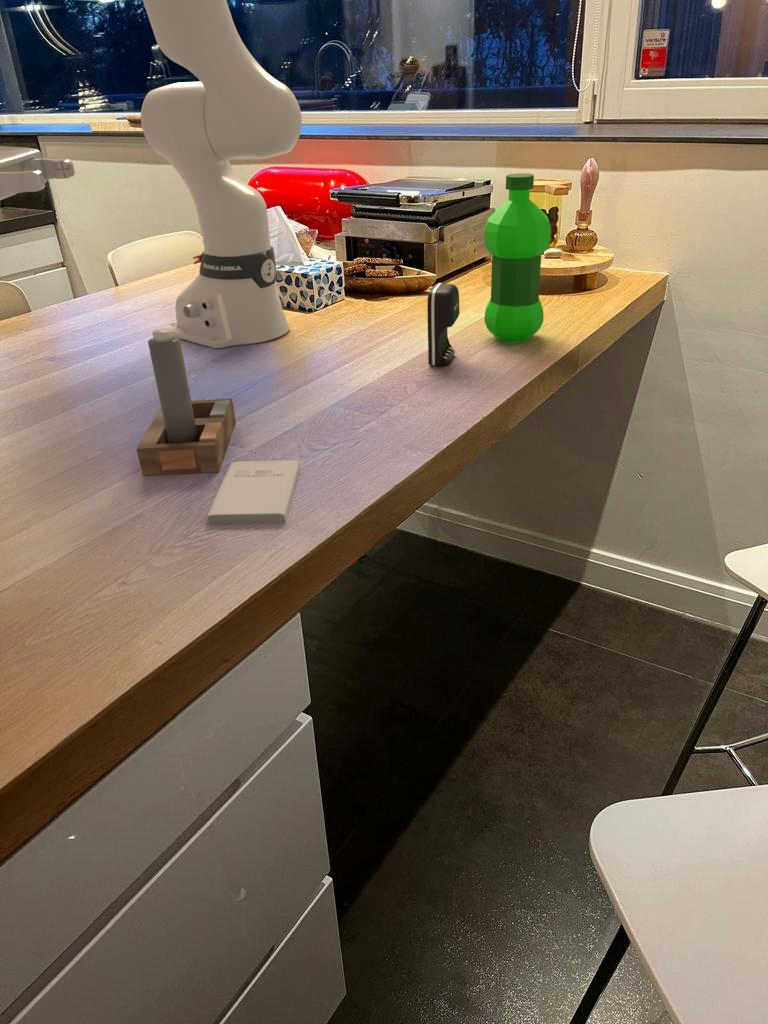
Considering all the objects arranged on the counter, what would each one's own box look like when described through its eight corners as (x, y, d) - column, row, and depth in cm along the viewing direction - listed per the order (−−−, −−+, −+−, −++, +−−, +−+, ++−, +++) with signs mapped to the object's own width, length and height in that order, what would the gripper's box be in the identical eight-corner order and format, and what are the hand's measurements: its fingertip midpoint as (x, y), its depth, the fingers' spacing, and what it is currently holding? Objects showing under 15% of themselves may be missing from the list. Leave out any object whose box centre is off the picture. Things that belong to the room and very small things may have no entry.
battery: (452, 368, 118) (452, 293, 112) (427, 367, 119) (426, 292, 113) (460, 353, 124) (461, 280, 118) (437, 352, 125) (436, 280, 119)
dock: (218, 472, 91) (213, 443, 89) (142, 476, 91) (135, 447, 89) (236, 422, 104) (232, 395, 102) (168, 425, 104) (163, 399, 102)
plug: (166, 461, 94) (139, 333, 86) (189, 451, 97) (165, 324, 89) (184, 469, 93) (159, 338, 84) (207, 458, 95) (184, 329, 87)
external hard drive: (208, 528, 82) (232, 472, 92) (286, 526, 81) (300, 471, 92) (206, 514, 81) (230, 460, 92) (284, 513, 81) (299, 458, 91)
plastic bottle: (506, 352, 123) (513, 182, 111) (470, 335, 131) (472, 175, 119) (557, 340, 127) (569, 175, 114) (518, 324, 135) (526, 168, 122)
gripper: (-140, 159, 72) (10, 152, 72) (-40, 138, 89) (80, 133, 89) (-115, 230, 75) (29, 224, 75) (-23, 197, 93) (93, 191, 93)
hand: (57, 174), depth 82 cm, fingers open, 8 cm apart
